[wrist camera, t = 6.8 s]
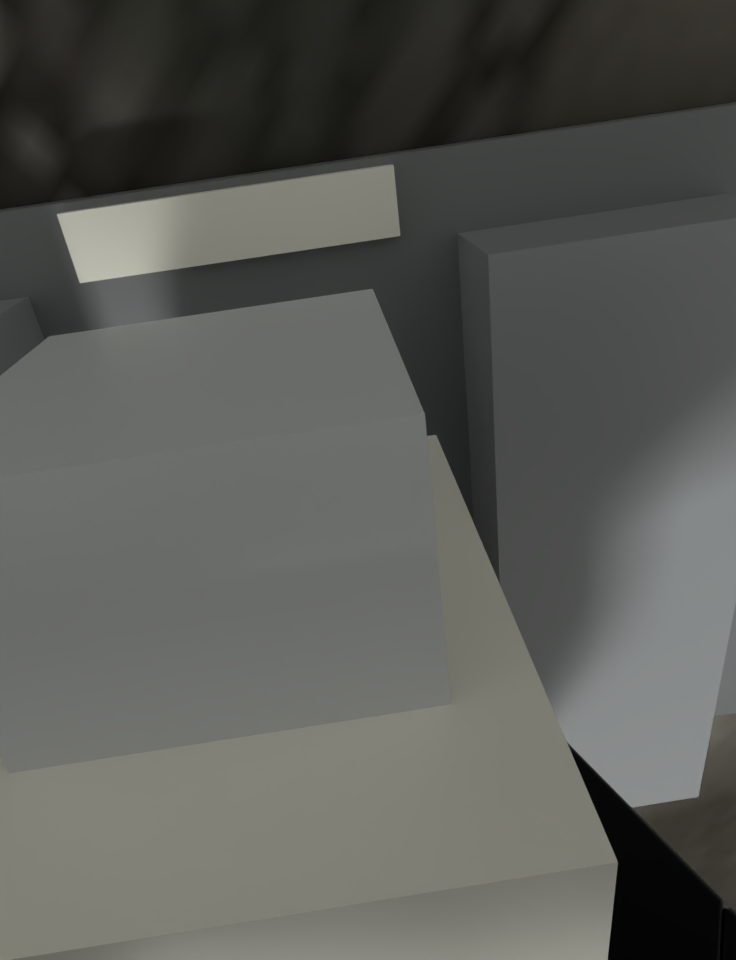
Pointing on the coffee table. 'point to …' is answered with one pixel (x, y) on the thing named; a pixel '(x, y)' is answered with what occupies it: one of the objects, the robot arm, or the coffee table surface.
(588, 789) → the robot arm
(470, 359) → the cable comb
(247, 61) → the coffee table surface
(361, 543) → the cream plug
